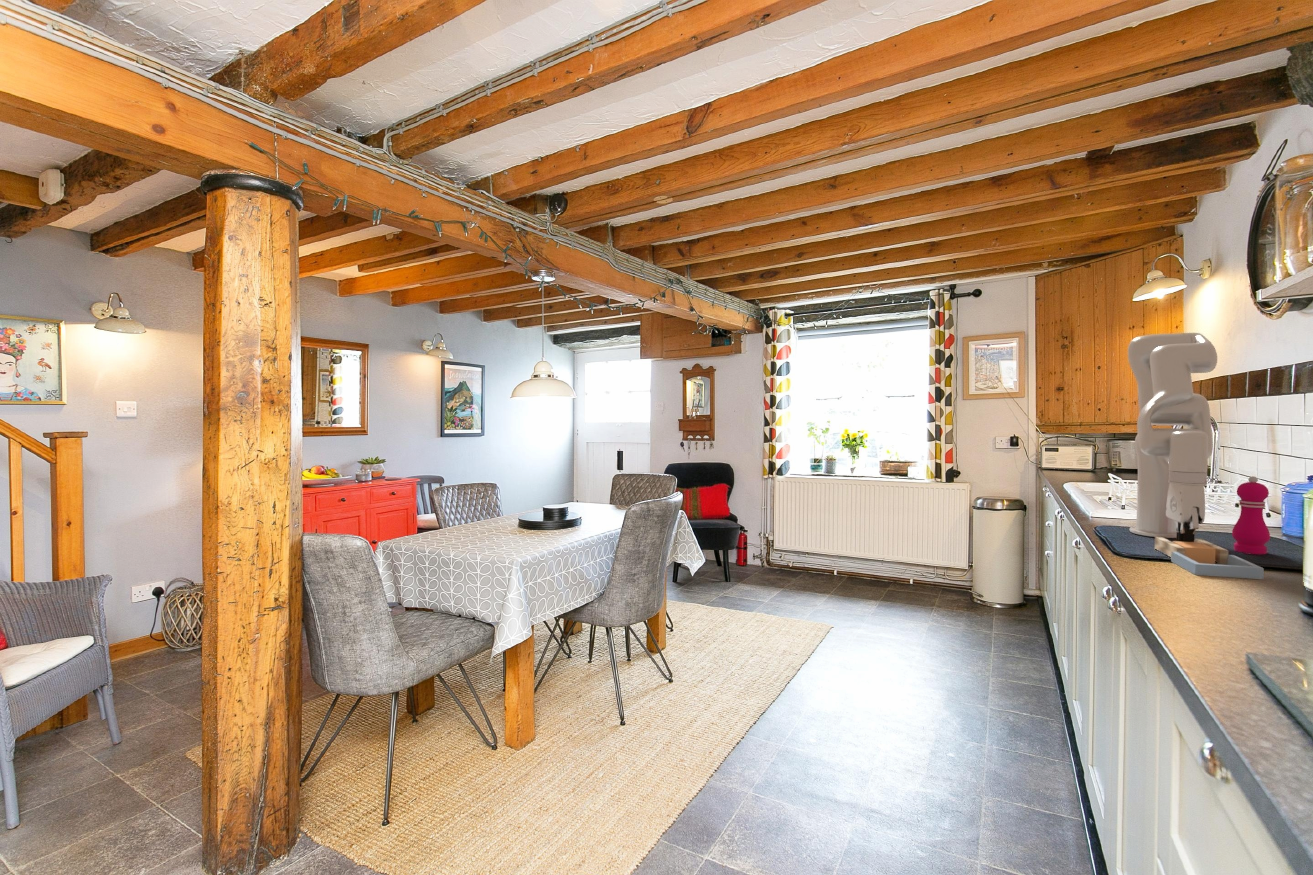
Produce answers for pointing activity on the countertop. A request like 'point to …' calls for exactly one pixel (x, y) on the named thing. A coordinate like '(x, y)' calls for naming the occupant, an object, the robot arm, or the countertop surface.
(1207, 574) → the bay
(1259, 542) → the pepper mill
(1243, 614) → the countertop surface
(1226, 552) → the pair of wooden slats
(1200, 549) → the block
